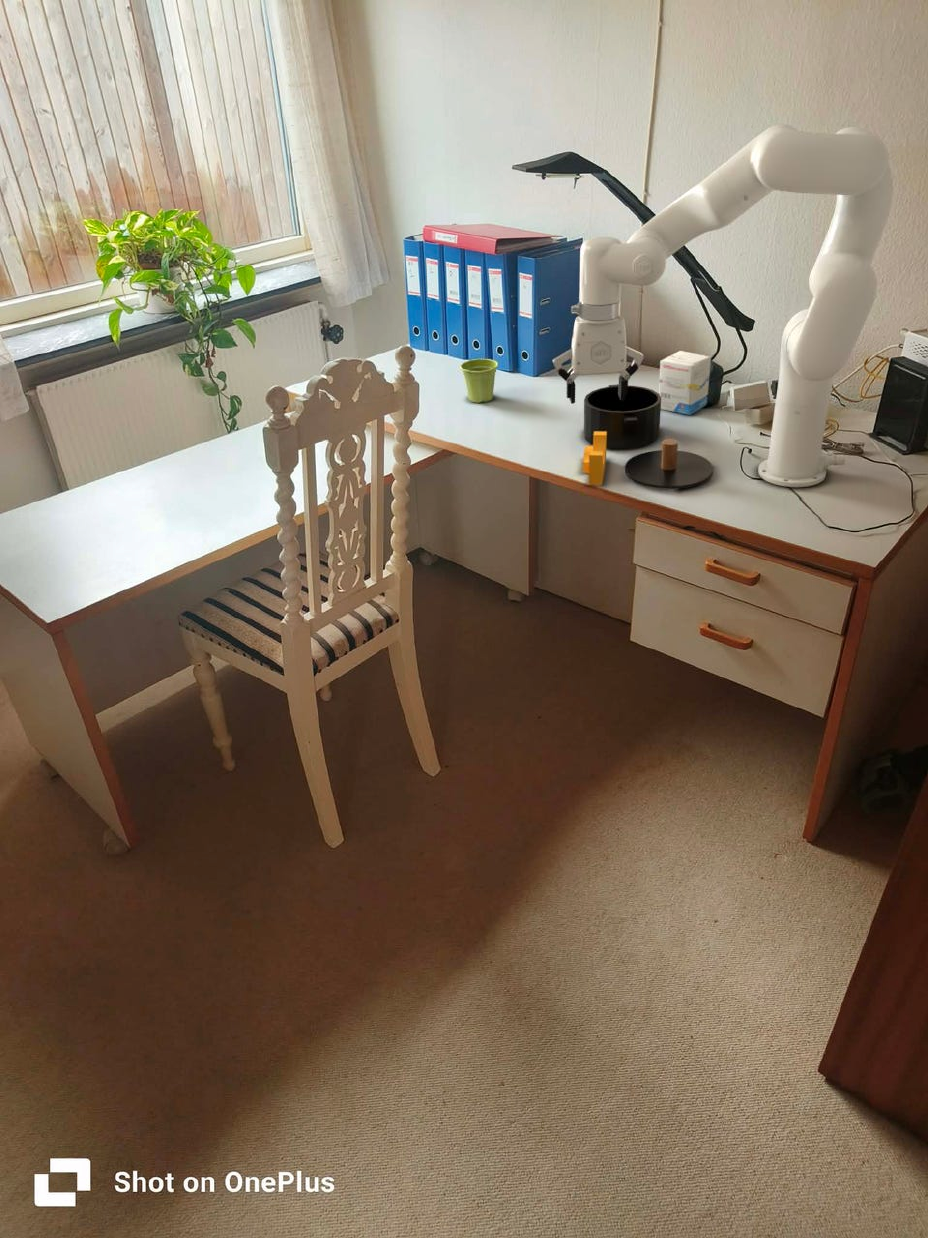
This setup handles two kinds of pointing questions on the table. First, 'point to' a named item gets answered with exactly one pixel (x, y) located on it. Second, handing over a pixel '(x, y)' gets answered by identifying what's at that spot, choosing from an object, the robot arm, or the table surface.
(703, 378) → the ink box
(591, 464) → the orange stepped block
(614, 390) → the pot
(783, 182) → the robot arm
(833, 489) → the table surface
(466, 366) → the plant pot
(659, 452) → the lid
